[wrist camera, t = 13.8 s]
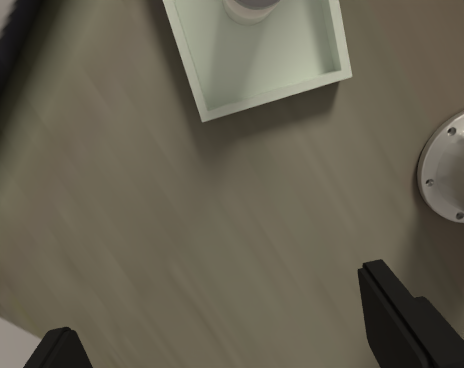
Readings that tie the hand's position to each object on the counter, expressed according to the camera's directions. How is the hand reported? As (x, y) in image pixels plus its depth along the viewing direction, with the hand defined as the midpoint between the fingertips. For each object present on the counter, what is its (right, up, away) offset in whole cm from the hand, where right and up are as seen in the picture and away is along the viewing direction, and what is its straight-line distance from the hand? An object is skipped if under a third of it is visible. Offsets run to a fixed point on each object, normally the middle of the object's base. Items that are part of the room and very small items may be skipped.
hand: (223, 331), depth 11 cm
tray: (+2, +21, +20) cm, 30 cm away
